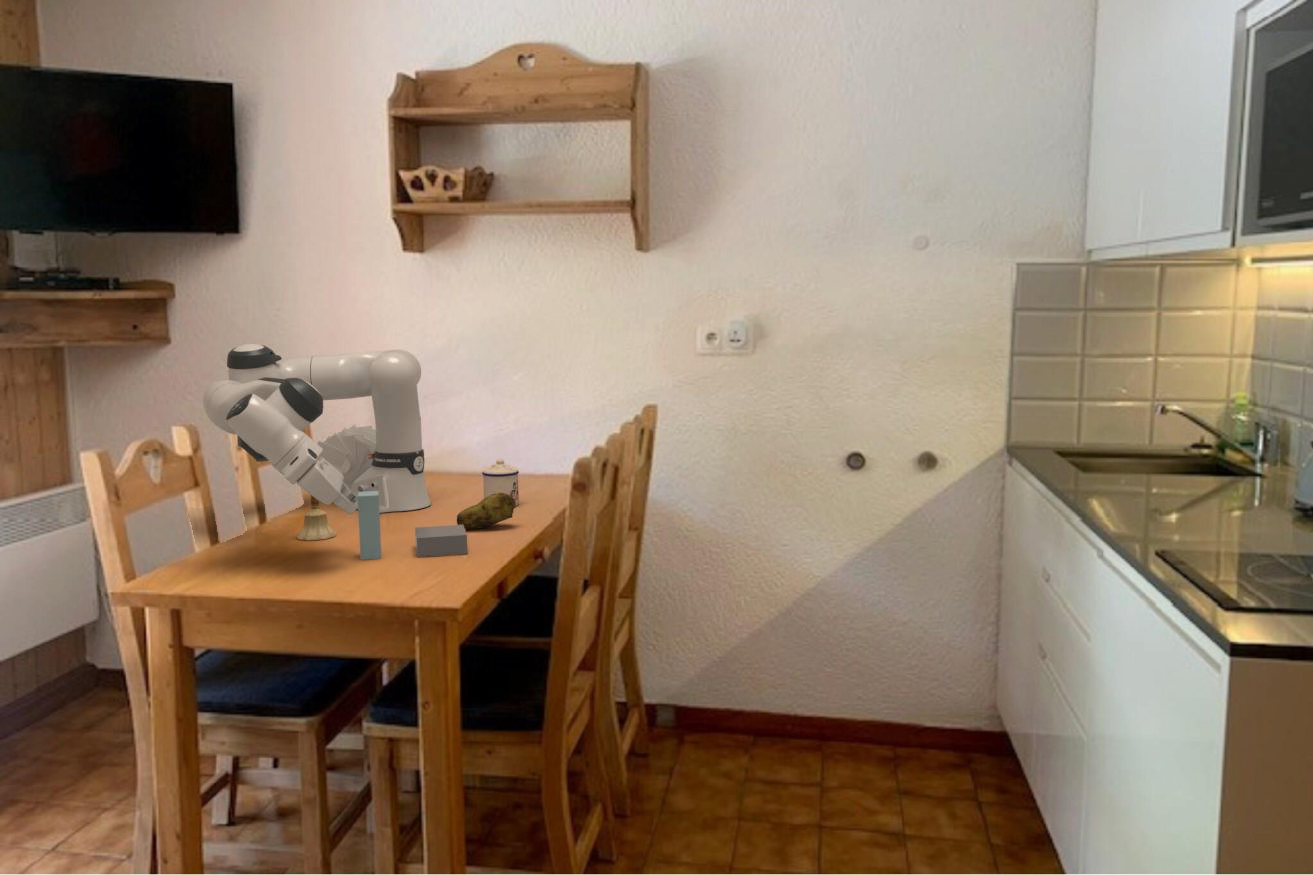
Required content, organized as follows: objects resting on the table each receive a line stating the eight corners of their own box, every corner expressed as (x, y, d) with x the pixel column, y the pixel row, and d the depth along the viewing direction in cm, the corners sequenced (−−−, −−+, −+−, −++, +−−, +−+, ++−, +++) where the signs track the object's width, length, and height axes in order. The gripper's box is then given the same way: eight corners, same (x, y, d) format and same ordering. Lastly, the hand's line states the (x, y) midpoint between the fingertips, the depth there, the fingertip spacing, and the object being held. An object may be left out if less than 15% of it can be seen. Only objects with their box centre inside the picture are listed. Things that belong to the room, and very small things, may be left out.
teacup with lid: (518, 508, 258) (516, 462, 256) (481, 509, 258) (479, 463, 256) (522, 499, 270) (521, 455, 268) (486, 500, 269) (485, 455, 268)
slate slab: (417, 557, 211) (416, 538, 210) (415, 546, 221) (415, 527, 220) (467, 553, 214) (466, 534, 213) (463, 542, 223) (463, 524, 223)
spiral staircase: (382, 497, 295) (360, 511, 271) (325, 471, 294) (297, 482, 269) (409, 439, 294) (389, 447, 269) (351, 412, 293) (326, 418, 268)
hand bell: (302, 532, 234) (298, 462, 232) (339, 531, 235) (336, 461, 233) (292, 541, 226) (288, 468, 224) (331, 540, 227) (328, 468, 224)
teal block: (360, 559, 210) (357, 496, 208) (361, 554, 214) (358, 491, 213) (381, 558, 210) (378, 495, 209) (381, 552, 215) (378, 490, 213)
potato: (463, 524, 242) (462, 490, 240) (518, 524, 241) (517, 490, 240) (454, 532, 233) (453, 497, 232) (511, 532, 233) (510, 497, 232)
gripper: (294, 463, 216) (345, 507, 220) (285, 480, 196) (341, 528, 200) (315, 441, 216) (366, 485, 220) (308, 456, 197) (364, 504, 200)
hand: (354, 506), depth 210 cm, fingers open, 8 cm apart
